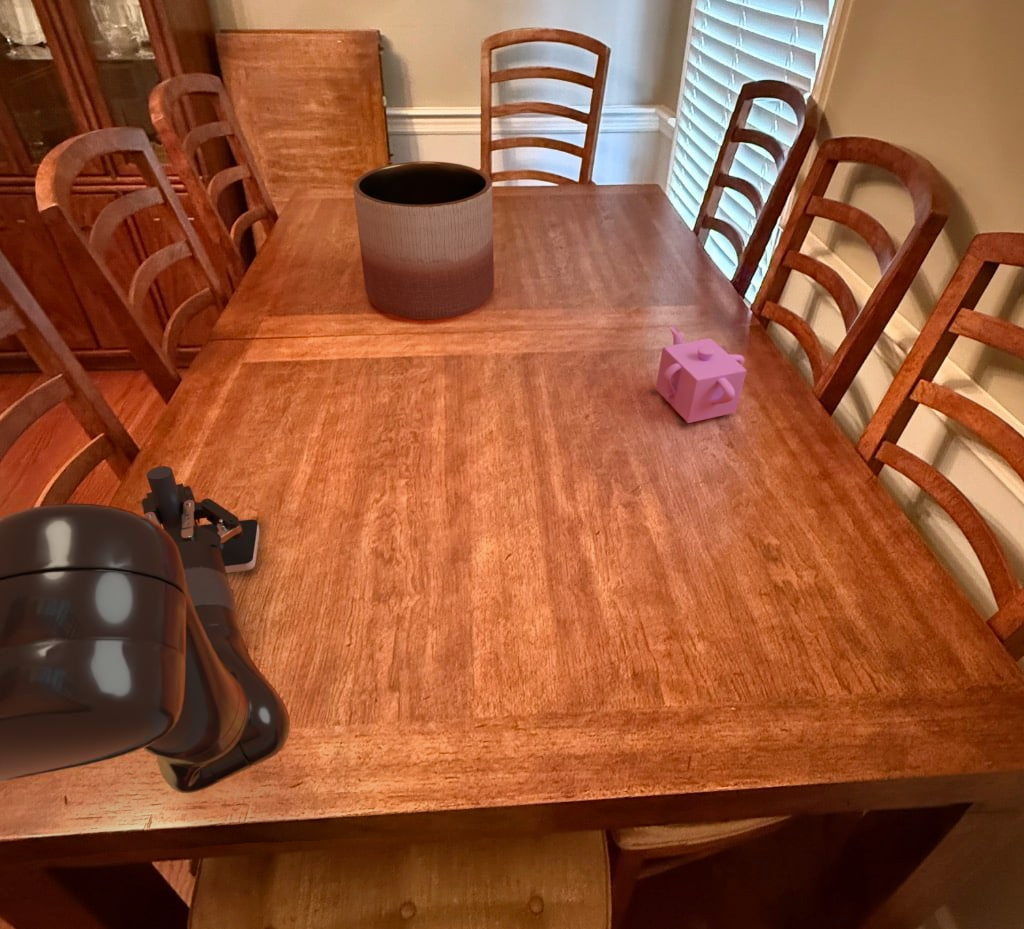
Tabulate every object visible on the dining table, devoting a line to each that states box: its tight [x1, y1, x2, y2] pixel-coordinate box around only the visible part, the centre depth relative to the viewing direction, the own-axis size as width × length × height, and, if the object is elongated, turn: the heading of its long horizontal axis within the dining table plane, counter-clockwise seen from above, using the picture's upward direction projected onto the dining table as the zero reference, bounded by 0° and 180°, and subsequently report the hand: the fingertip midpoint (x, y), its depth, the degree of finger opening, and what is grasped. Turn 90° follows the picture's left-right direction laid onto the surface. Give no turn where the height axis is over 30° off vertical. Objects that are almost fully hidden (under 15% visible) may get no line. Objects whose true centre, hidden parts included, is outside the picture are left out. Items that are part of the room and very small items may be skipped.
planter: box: [352, 160, 495, 321], centre depth 132 cm, size 25×25×22 cm
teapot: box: [655, 326, 748, 424], centre depth 108 cm, size 18×14×10 cm
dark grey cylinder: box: [146, 465, 183, 530], centre depth 80 cm, size 3×3×12 cm
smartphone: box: [200, 518, 261, 574], centre depth 85 cm, size 8×1×15 cm
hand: (166, 494), depth 81 cm, fingers closed on dark grey cylinder, 2 cm apart
